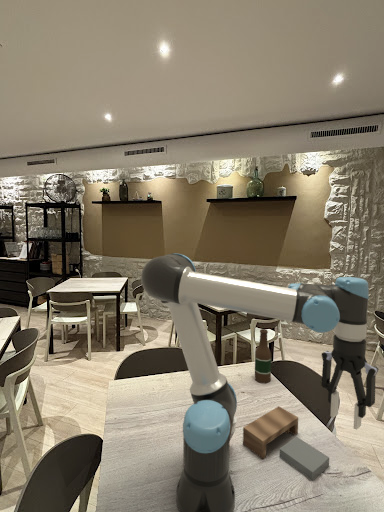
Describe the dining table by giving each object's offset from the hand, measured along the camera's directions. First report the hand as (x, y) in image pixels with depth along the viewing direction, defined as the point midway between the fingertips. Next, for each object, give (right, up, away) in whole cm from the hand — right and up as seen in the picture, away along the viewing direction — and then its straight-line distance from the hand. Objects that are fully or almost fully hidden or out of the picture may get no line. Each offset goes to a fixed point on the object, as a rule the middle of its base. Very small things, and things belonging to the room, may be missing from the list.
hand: (345, 420), depth 78 cm
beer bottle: (-8, -14, +59) cm, 62 cm away
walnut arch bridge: (-14, -17, +20) cm, 30 cm away
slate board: (-7, -19, +10) cm, 22 cm away
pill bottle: (-33, -17, +16) cm, 41 cm away
